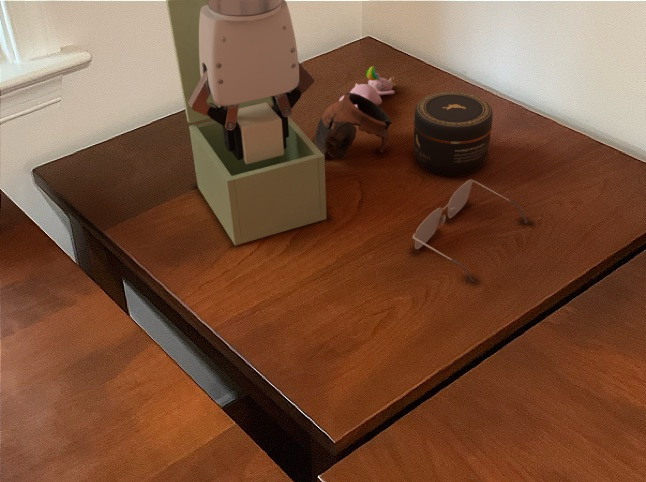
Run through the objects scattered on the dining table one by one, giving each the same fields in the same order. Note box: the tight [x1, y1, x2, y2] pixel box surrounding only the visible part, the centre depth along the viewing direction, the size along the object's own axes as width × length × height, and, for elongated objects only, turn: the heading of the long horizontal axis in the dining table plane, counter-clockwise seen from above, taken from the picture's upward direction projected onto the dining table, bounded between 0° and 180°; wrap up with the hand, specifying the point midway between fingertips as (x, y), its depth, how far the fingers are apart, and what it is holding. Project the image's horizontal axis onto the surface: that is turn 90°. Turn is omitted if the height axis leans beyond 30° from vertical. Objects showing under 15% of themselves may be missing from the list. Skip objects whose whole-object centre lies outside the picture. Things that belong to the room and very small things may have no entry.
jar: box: [412, 90, 494, 178], centre depth 106 cm, size 10×10×8 cm
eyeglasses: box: [412, 178, 528, 282], centre depth 93 cm, size 14×8×4 cm, turn 145°
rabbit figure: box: [338, 65, 396, 108], centre depth 118 cm, size 6×6×15 cm
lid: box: [165, 0, 273, 124], centre depth 97 cm, size 14×12×5 cm
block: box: [236, 102, 284, 164], centre depth 93 cm, size 5×5×5 cm
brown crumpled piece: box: [312, 92, 392, 160], centre depth 108 cm, size 12×10×8 cm
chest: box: [188, 116, 327, 246], centre depth 98 cm, size 14×12×9 cm
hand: (257, 147), depth 95 cm, fingers closed on block, 4 cm apart
